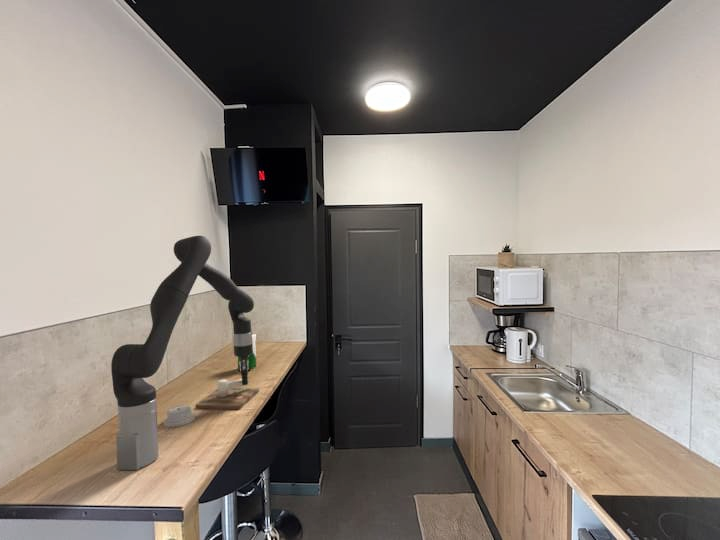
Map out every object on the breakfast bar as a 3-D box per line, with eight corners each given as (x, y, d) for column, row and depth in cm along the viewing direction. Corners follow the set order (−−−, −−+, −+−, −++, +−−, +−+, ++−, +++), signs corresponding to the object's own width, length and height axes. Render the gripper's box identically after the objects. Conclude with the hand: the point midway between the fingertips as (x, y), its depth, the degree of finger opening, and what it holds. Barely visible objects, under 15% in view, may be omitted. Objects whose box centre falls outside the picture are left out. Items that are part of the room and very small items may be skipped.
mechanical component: (156, 426, 119) (181, 429, 117) (156, 414, 119) (181, 416, 117) (177, 414, 128) (201, 416, 126) (177, 402, 128) (200, 404, 126)
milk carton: (258, 366, 186) (257, 330, 186) (250, 371, 177) (249, 333, 177) (243, 366, 188) (242, 330, 187) (235, 371, 179) (233, 333, 178)
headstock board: (240, 409, 131) (240, 404, 131) (195, 408, 133) (195, 404, 133) (258, 391, 149) (258, 387, 149) (219, 391, 151) (219, 387, 151)
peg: (250, 390, 146) (249, 376, 145) (219, 398, 138) (218, 383, 138) (247, 388, 149) (246, 374, 149) (216, 395, 141) (216, 380, 141)
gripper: (252, 345, 138) (254, 388, 139) (251, 339, 151) (253, 378, 151) (233, 347, 136) (235, 391, 136) (233, 341, 148) (235, 380, 149)
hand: (245, 384), depth 144 cm, fingers closed
